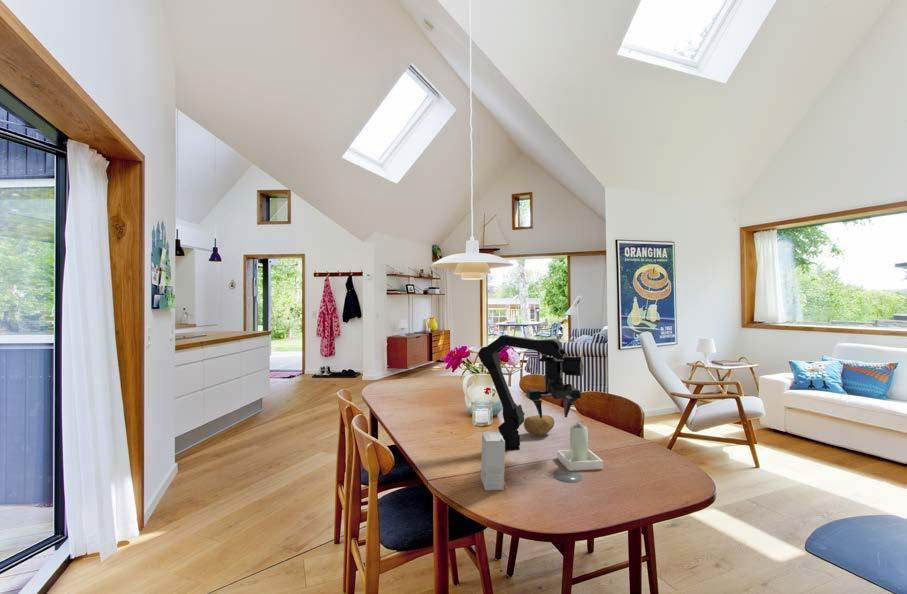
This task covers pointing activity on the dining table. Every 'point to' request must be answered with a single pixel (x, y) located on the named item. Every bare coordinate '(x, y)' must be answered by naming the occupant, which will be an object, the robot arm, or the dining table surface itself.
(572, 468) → the stoneware dish
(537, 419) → the potato
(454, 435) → the dining table surface
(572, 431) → the pebble cup
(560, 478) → the slate coaster
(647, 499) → the dining table surface
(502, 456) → the skincare box
